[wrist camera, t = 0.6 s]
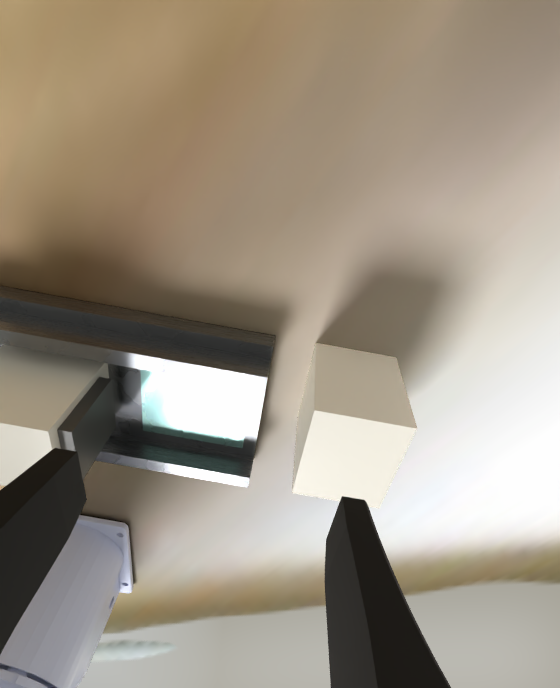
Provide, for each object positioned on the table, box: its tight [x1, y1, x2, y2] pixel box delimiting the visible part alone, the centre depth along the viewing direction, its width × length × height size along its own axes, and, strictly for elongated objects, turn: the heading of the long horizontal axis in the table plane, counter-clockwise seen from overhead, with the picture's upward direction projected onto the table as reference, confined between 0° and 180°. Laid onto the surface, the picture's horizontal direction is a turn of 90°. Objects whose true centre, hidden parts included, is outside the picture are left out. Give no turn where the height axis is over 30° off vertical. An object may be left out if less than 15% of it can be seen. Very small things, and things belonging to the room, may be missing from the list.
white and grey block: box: [0, 345, 116, 486], centre depth 18 cm, size 4×6×5 cm
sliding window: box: [0, 286, 275, 488], centre depth 20 cm, size 9×14×2 cm, turn 81°
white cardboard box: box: [292, 343, 417, 508], centre depth 19 cm, size 4×6×5 cm
